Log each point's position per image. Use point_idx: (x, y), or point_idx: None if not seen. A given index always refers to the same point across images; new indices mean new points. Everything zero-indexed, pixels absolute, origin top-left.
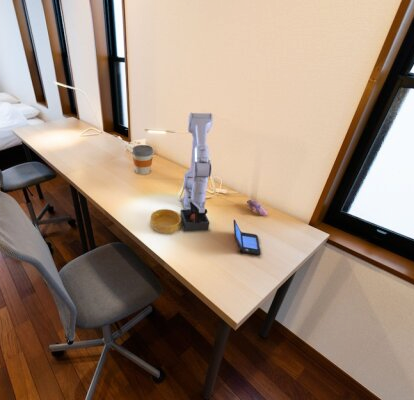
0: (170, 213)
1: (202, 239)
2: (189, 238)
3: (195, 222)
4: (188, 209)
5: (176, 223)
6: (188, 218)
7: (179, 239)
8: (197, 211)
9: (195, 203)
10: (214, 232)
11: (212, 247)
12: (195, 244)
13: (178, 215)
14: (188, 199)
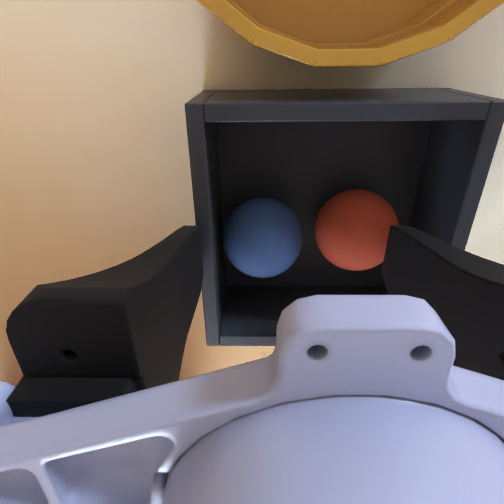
0: None
1: (104, 226)
2: (101, 119)
3: (181, 227)
4: (476, 205)
5: (334, 15)
6: (398, 174)
7: (69, 4)
8: (26, 357)
9: (168, 432)
10: (196, 323)
11: (24, 271)
12: (28, 156)
13: (398, 41)
14: (384, 325)
